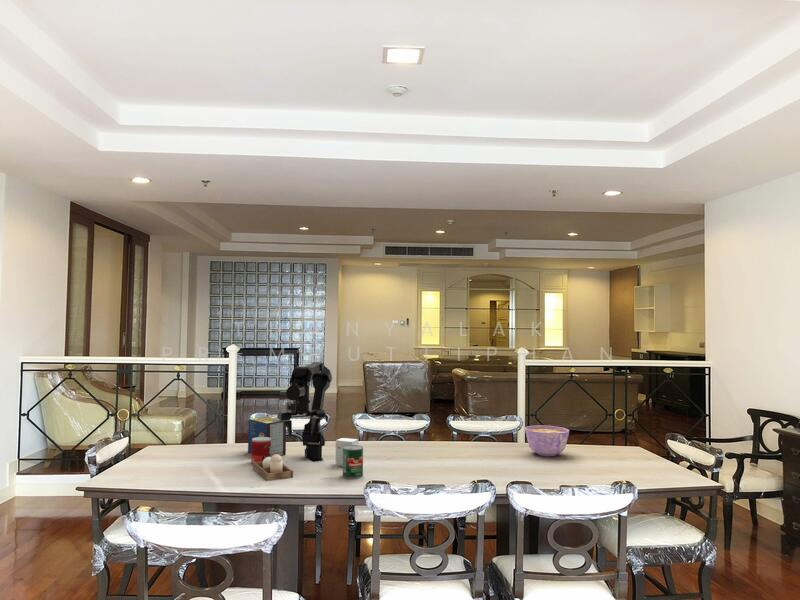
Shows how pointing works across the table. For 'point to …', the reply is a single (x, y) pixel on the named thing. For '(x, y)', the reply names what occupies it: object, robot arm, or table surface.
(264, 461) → the ball
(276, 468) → the cylinder
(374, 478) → the table surface
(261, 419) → the protein box
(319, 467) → the table surface
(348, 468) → the canned tomato
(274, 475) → the crate
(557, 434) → the bowl of food
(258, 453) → the canned food
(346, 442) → the small box
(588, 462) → the table surface
